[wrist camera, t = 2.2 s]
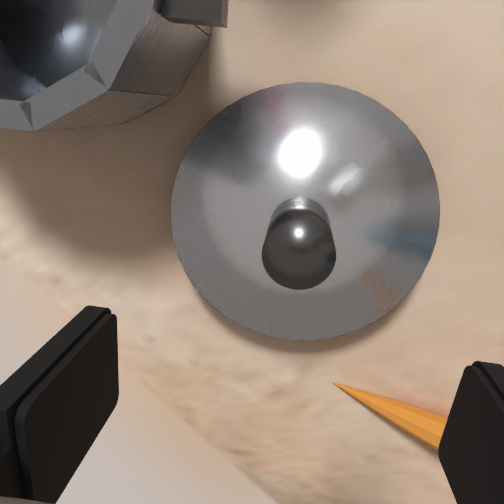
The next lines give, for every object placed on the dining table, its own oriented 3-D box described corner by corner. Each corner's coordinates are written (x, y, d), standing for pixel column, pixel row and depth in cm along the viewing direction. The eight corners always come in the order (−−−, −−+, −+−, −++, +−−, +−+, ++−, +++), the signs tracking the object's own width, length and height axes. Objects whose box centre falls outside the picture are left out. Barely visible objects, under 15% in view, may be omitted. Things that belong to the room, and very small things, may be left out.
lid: (457, 97, 23) (526, 94, 16) (396, 335, 28) (427, 411, 21) (184, 73, 24) (135, 61, 17) (179, 305, 30) (141, 367, 23)
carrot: (577, 459, 31) (628, 490, 26) (554, 512, 31) (601, 553, 26) (339, 349, 32) (349, 362, 28) (317, 400, 32) (323, 420, 28)
